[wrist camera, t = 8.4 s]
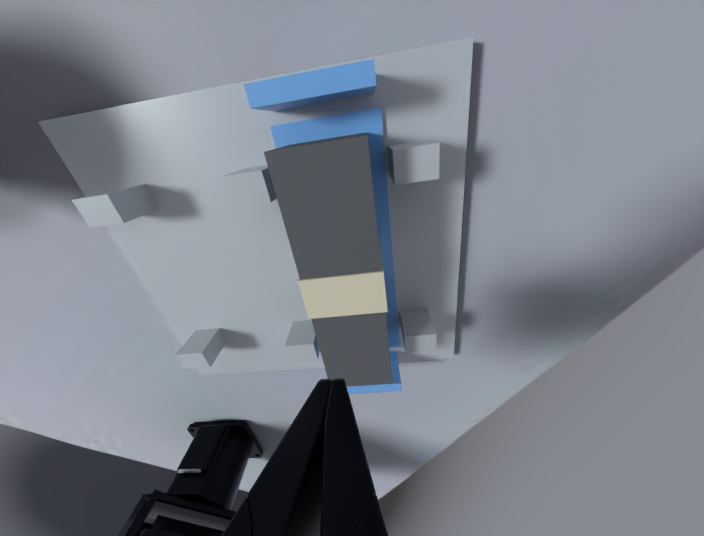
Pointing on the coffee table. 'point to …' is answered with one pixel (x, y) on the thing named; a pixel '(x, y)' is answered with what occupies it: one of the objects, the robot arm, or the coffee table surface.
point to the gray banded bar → (336, 252)
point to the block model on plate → (263, 209)
